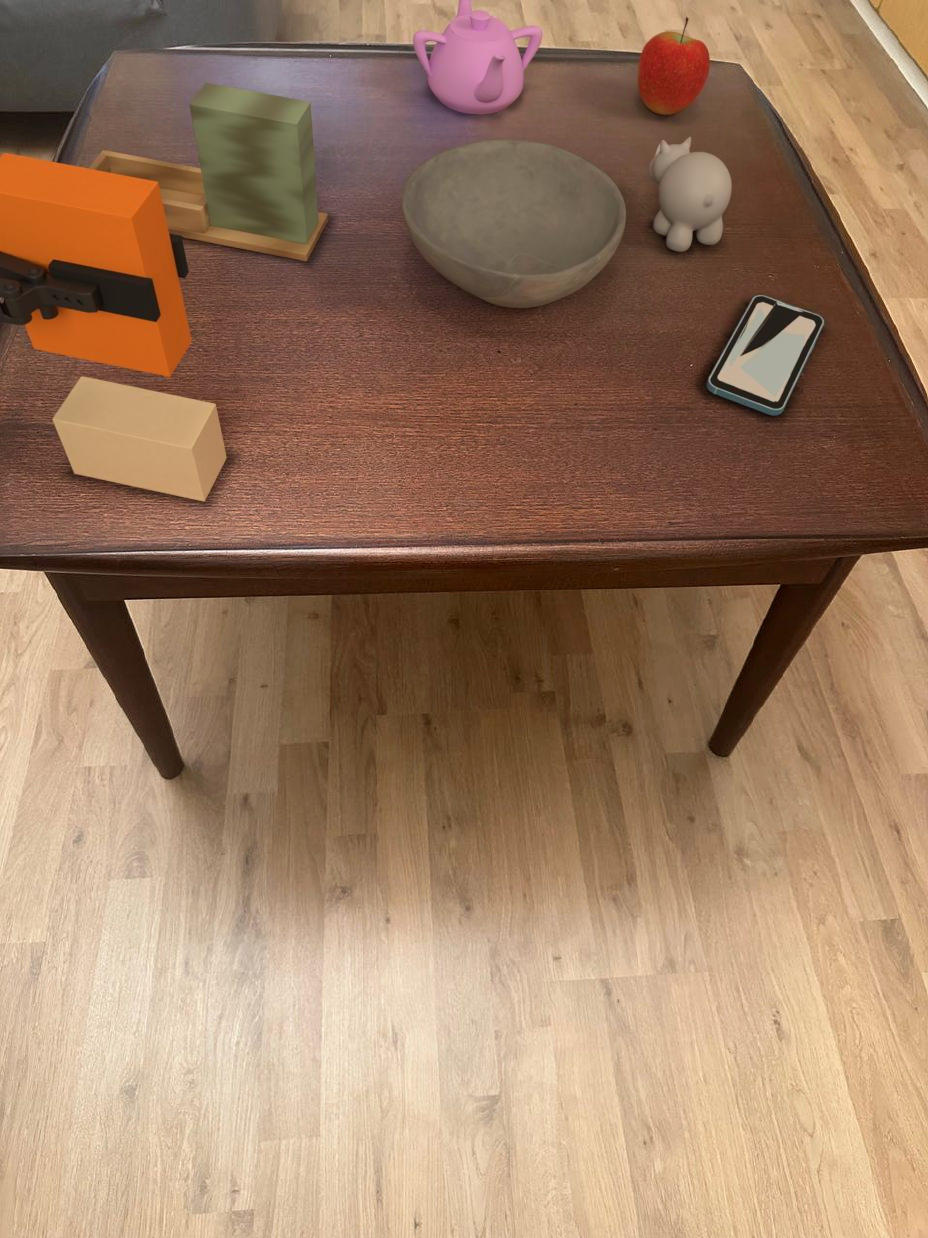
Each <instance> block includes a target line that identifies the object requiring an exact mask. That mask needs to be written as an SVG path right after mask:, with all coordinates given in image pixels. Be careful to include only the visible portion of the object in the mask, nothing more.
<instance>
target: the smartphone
mask: <svg viewBox="0 0 928 1238" xmlns="http://www.w3.org/2000/svg"><path fill="white" fill-rule="evenodd" d="M824 325H825V319H824V318H823V317H822V315H820V314H819V313H815V312H813V311H810V310H807V309H804V308H801V307H799V306H795V305H793V304H790V303H787V302H784V301H781V300H778V299H775V298H773V297H770V296H767V295H764V294H757V295H754V296H753V297H752V298H751V300H750V302H749V304H748V305H747V307H746V308H745V311H744V313H743V314H742V316H741V317H740V319H739V321H738V323H737V325H736V327H735V329H734V331H733V332H732V334H731V335H730V338H729V339H728V342H727V343H726V345H725V347H724V349H723V350H722V352H721V354H720V356H719V358H718V360H717V362H716V363H715V365H714V367H713V368H712V371H711V372H710V374H709V376H708V378H707V380H706V384H705V385H706V386H705V387H706V389H707V390H708V391H709V392H710V393H712V394H714V395H717V396H719V397H722V398H725V399H726V400H730V401H732V402H734V403H738V404H740V405H743V406H745V407H748V408H750V409H753V410H755V411H758V412H760V413H764V414H765V415H769V416H779V415H781V414H782V413H783V412H784V409H785V408H786V406H787V403H788V402H789V399H790V397H791V395H792V394H793V391H794V389H795V387H796V385H797V382H798V380H799V378H800V376H801V374H802V372H803V370H804V368H805V366H806V363H807V361H808V360H809V357H810V355H812V352H813V350H814V349H815V346H816V342H817V340H818V339H819V336H820V334H821V332H822V330H823V328H824Z"/></svg>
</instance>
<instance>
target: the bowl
mask: <svg viewBox="0 0 928 1238" xmlns="http://www.w3.org/2000/svg"><path fill="white" fill-rule="evenodd" d="M400 208H401V213H402V218H403V222H404V224H405V227H406V230H407V232H408V235H409V237H410V239H411V241H412V243H413V245H414V247H415V249H416V250H417V252H419V254H420V256H421V257H422V258H423V259H424V260H425V262H427V264H429V265H430V267H432V268H433V270H435V271H436V272H438V273H439V274H440V275H441V276H442V277H444V278H445V279H446V280H447V281H449V282H451V283H452V285H453V284H454V285H455V286H457V288H460V289H462V290H463V291H465V292H467V293H468V294H470V295H472V296H475V297H477V298H479V299H481V300H483V301H485V302H487V303H490V304H492V305H495V306H497V307H503V308H510V309H530V308H535V307H537V308H538V307H542V306H545V305H550V303H553V302H555V301H557V300H561V299H563V298H566V297H568V296H570V295H572V294H574V293H576V292H578V291H579V290H581V289H582V288H583V287H585V286H586V285H587V284H588V283H590V282H591V281H592V280H593V279H594V278H595V277H597V275H599V273H600V272H601V271H602V270H603V269H604V268H605V267H606V266H607V264H608V263H609V262H610V260H611V259H612V257H613V256H614V254H615V253H616V250H617V249H618V247H619V245H620V243H621V240H622V239H623V235H624V232H625V227H626V221H627V220H626V219H627V209H626V204H625V199H624V197H623V195H622V193H621V191H620V189H619V188H618V186H617V185H616V183H615V182H614V181H613V180H612V179H611V177H610V176H608V174H607V173H605V172H604V171H603V170H601V169H600V168H599V167H597V166H596V165H594V164H593V163H591V162H590V161H588V160H586V159H584V158H582V157H580V156H578V155H577V154H575V153H573V152H571V151H569V150H567V149H564V148H562V147H559V146H556V145H552V144H548V143H544V142H537V141H528V140H521V139H487V140H478V141H474V142H470V143H466V144H461V145H459V146H455V147H452V148H450V149H447V150H444V151H442V152H440V153H438V154H436V155H434V156H433V157H431V158H429V159H428V160H426V161H424V162H423V163H421V164H420V165H419V166H418V168H416V169H415V171H413V172H412V174H411V175H410V176H409V178H408V179H407V181H406V182H405V184H404V187H403V189H402V193H401V199H400Z"/></svg>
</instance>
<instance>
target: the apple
mask: <svg viewBox="0 0 928 1238" xmlns="http://www.w3.org/2000/svg"><path fill="white" fill-rule="evenodd" d="M689 19H690V18H689V17H688V16H686V17H685V23H684V26H683V29H682V30H683V31H682V33H680V32H676V31H672V30H671V31H669V30H668V31H661V32H660V33H657V34H655V35H654V36H652V37H651V38H650V39H649V40H648V41H647V42H646V43H645V45H644V47H643V49H642V51H641V53H640V56H639V59H638V65H637V76H636V77H637V88H638V92H639V95H640V98H641V100H642V102H643V104H644V105H645V107H647V109H648V110H650V111H651V112H652V113H654V114H657V115H660V116H671V115H675V114H678V113H680V112H681V111H683V110H685V109H686V108H687V107H689V106H690V105H691V104H692V103H693V102H695V100H696V99H697V97H698V96H699V95H700V93H701V92H702V90H703V88H704V86H705V84H706V82H707V80H708V77H709V73H710V66H711V58H710V52H709V49H708V47H707V45H706V44H705V43H704V42H703V41H702V40H700V39H696V38H693V37H691V36H689V35H686V34H685V32H686V28H687V25H688V23H689Z"/></svg>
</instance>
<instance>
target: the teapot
mask: <svg viewBox="0 0 928 1238" xmlns="http://www.w3.org/2000/svg"><path fill="white" fill-rule="evenodd" d="M471 1H472V0H459V1H458V7H457V12H456V16H455V18H454V19H452V20H451V21H450V22H449V23H448V24H447V26H446V27H445V28H444V30H443V31H442V33H439V32H436V31H431V30H427V29H420V30H417V31H416V32H415V33H414V34H413V36H412V45H413V49H414V52H415V54H416V56H417V59H418V61H419V62H420V64H421V67H422V68H423V69H424V71H425V72H426V81H427V84H428V87H429V88H430V89H429V90H431V92H432V93H433V95H434V96H435V97H436V99H437V100H438V101H439V102H440V103H441V104H442V105H444V106H445V107H446V108H449V109H451V110H452V111H456V112H459V113H463V114H467V115H490V114H496V113H499V112H501V111H504V110H505V109H506V108H508V107H509V106H511V105H512V104H513V103H514V102H515V101H516V100H517V99H518V97H520V95H521V93H522V91H523V89H524V83H525V82H524V79H525V78H524V77H525V75H524V71H525V70H526V69H527V67H528V65H529V64H530V62H531V61H532V60H533V58H534V57H535V55H536V53H537V52H538V50H539V48H540V46H541V43H542V39H543V30H542V28H541V27H540V26H538V25H528V26H523V27H519V28H516V29H513V30H510V28H509V27H508V25H507V24H506V23H504V21H502V20H500V19H499V18H497V17H495V16H492V15H491V14H490V13H489V12H488V11H486V10H481V9H476V10H472V2H471ZM526 37H528V38H529V41H528V44H527V47H526V50H525V52H524V54H523V56H521V52H520V51H519V47H518V45H517V43H516V41H515V40H517V39H522V38H526ZM427 42H435V45H434V47H433V49H432V51H431V54H430V58H428V53H427V49H426V44H427Z"/></svg>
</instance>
